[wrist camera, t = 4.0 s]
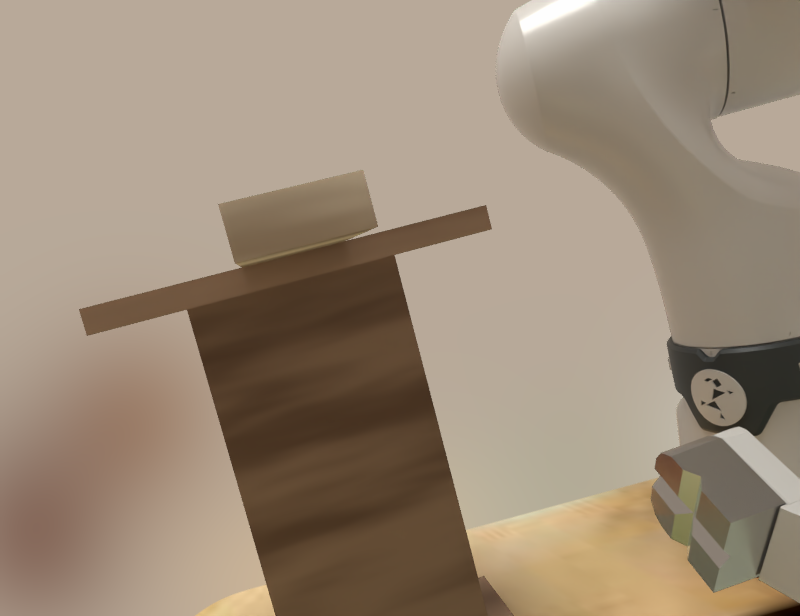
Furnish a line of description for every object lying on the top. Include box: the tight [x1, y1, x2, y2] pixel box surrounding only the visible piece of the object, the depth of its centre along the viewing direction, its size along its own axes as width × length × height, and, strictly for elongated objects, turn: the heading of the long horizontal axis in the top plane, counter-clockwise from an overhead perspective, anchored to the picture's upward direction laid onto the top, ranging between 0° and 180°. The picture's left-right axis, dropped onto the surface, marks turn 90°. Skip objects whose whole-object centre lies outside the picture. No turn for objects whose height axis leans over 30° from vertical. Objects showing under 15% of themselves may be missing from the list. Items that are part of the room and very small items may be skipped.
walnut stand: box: [79, 205, 514, 616], centre depth 39 cm, size 22×16×26 cm
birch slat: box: [218, 170, 378, 268], centre depth 33 cm, size 30×4×2 cm, turn 12°
